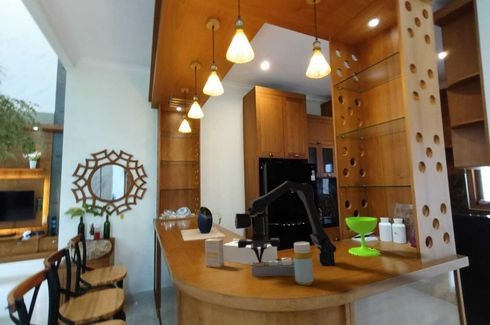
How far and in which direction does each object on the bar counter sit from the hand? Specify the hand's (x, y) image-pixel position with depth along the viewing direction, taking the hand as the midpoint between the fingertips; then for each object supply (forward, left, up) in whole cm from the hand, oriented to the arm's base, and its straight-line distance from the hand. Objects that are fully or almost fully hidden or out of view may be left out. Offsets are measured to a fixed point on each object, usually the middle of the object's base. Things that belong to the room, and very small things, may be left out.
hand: (259, 262), depth 110 cm
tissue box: (+6, -20, -5) cm, 22 cm away
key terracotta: (0, 0, -2) cm, 2 cm away
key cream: (-12, 0, -1) cm, 12 cm away
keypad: (-6, 0, -4) cm, 7 cm away
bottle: (-18, +13, -5) cm, 22 cm away
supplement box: (+23, -11, -5) cm, 26 cm away
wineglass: (-56, -28, -5) cm, 63 cm away
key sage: (-6, 0, -2) cm, 6 cm away
